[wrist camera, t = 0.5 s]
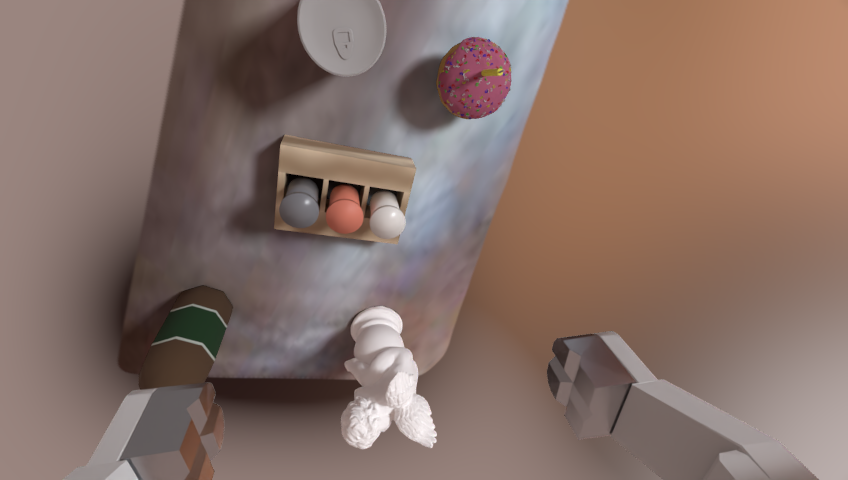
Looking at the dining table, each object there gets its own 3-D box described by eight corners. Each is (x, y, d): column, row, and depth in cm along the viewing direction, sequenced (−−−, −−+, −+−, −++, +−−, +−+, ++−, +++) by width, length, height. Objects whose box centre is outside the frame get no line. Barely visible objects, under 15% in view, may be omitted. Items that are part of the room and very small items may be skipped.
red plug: (329, 179, 48) (328, 198, 43) (363, 184, 49) (366, 204, 45) (325, 209, 50) (323, 231, 45) (358, 214, 51) (360, 235, 46)
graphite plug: (286, 172, 47) (280, 191, 42) (323, 178, 48) (321, 197, 43) (284, 204, 49) (277, 225, 44) (318, 208, 50) (316, 230, 45)
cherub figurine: (340, 343, 67) (336, 473, 48) (348, 284, 61) (348, 406, 42) (410, 345, 70) (432, 469, 51) (424, 289, 64) (455, 406, 45)
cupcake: (439, 27, 45) (467, 34, 35) (506, 43, 47) (551, 54, 37) (423, 104, 49) (444, 129, 39) (486, 116, 51) (522, 143, 41)
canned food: (326, 72, 45) (322, 90, 36) (291, -5, 41) (277, -8, 32) (388, 47, 45) (400, 58, 36) (360, -33, 41) (365, -44, 32)
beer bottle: (201, 274, 55) (121, 429, 35) (246, 305, 59) (196, 461, 39) (163, 304, 57) (64, 470, 37) (209, 332, 61) (143, 497, 40)
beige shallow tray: (284, 134, 48) (280, 144, 45) (411, 158, 52) (416, 168, 49) (278, 214, 53) (273, 228, 50) (394, 230, 57) (397, 244, 54)
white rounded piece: (370, 185, 49) (373, 204, 45) (402, 191, 51) (409, 210, 46) (364, 215, 51) (366, 236, 47) (395, 219, 53) (401, 241, 48)
